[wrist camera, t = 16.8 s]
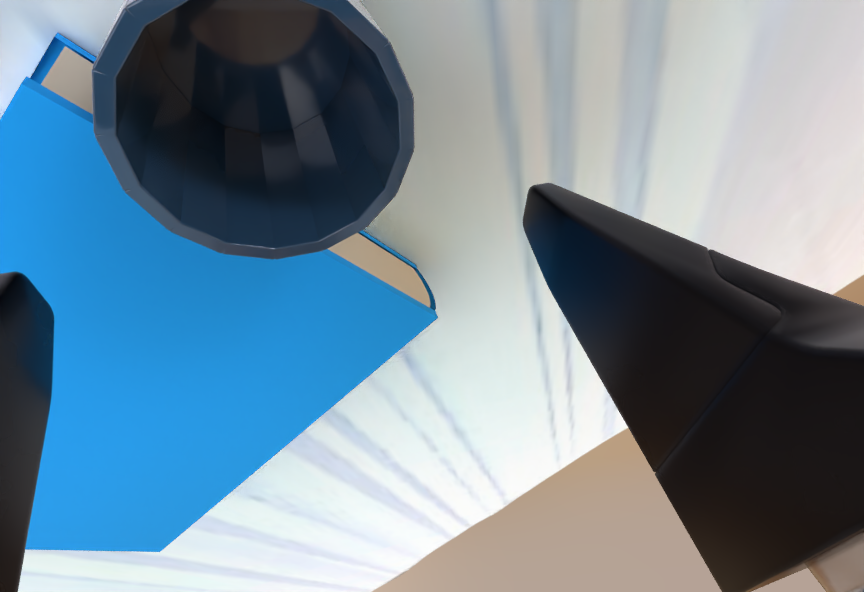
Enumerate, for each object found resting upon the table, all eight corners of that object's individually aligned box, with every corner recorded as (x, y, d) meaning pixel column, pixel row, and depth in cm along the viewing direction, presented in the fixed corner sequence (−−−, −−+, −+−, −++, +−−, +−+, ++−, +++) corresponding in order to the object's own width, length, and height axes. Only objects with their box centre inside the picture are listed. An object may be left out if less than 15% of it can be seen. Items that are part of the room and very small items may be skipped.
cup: (344, -96, 14) (412, -43, 9) (364, 122, 19) (416, 234, 14) (91, -89, 13) (10, -22, 8) (183, 145, 18) (169, 280, 13)
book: (-248, 547, 20) (0, 80, 11) (-187, 451, 23) (46, 23, 14) (171, 553, 31) (449, 324, 23) (176, 489, 34) (424, 265, 26)
